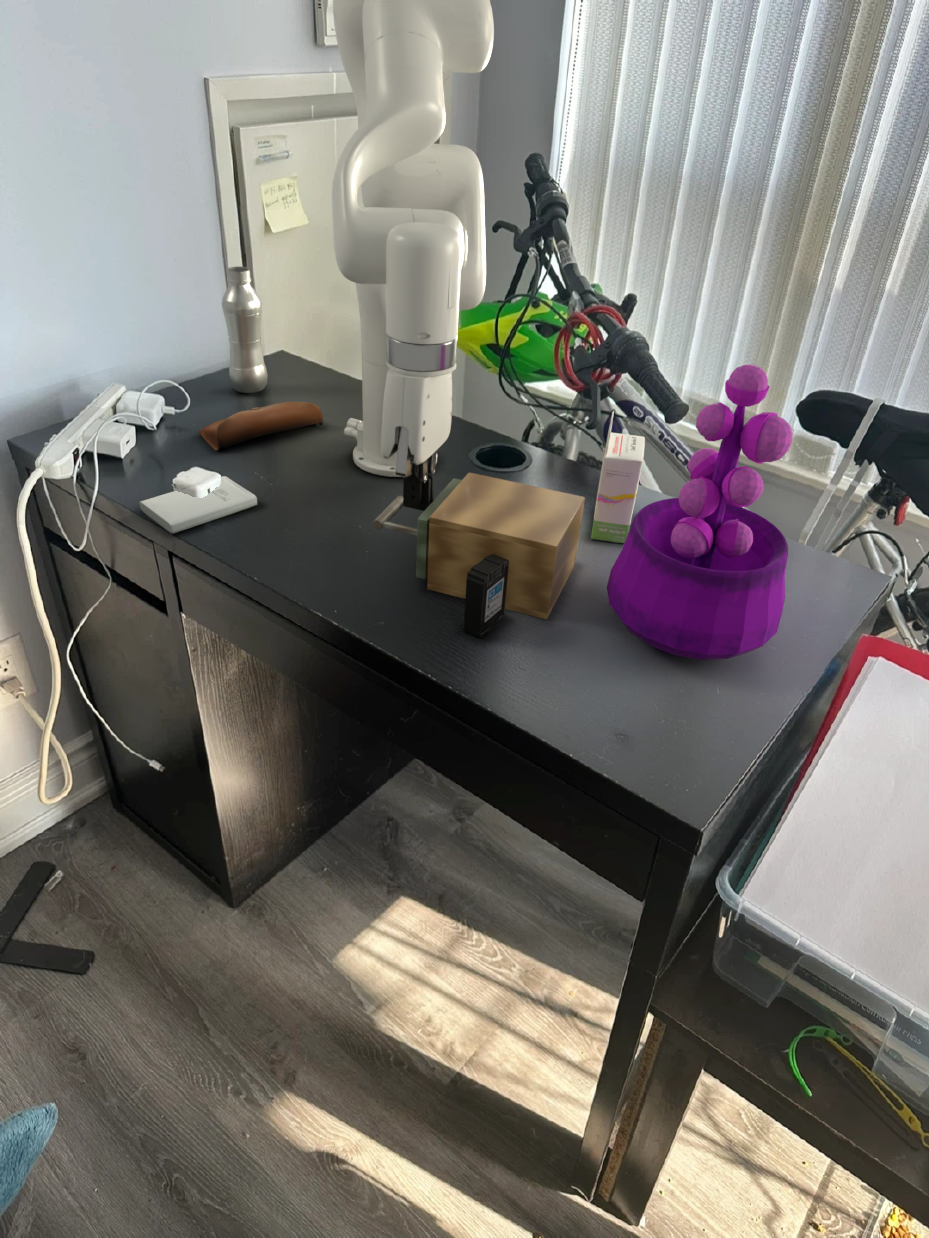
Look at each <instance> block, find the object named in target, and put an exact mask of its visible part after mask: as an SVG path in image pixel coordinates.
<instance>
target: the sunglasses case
mask: <svg viewBox="0 0 929 1238" xmlns="http://www.w3.org/2000/svg"><path fill="white" fill-rule="evenodd" d="M323 423H324V418H323V413H322V410H321V408H320V407H319V405H317V404H316V403H314V402H308V401H285V402H278V403H274V404H269V405H264V406H260V407H253V408H251V409H247V410H241V411H237V412H235V413H233V414H231V416H229V417H227V418H223V419H220V420H217V421H214V422H212V423H210V424H208V425H206V426H204V427H202V428H201V429H200V430H199V435H200V436H201V437H202V439H203V440H204V441H205V442H206V443H207V444H208V446H210V447H211V448H212V449H213V450H214V451H216V452H217V451H219V450H220V449H221V448H222V449H223V448H228V447H231V446H235V445H238V444H240V443H244V442H246V441H248V440H253V439H256V438H258V437H261V436H263V437H264V436H268V435H273V434H277V433H281V432H284V431H291V430H295V429H298V428H303V427H309V426H312V425H319V426H323Z"/></svg>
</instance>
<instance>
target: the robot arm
mask: <svg viewBox="0 0 929 1238" xmlns="http://www.w3.org/2000/svg"><path fill="white" fill-rule="evenodd" d="M332 15H333V26H334V30H335V39H336V43H337V47H338V48H337V49H338V53H339V55H340V59H341V62H342V66H343V69H344V72H345V75H346V77H347V80H348V82H349V86H350V88H351V91H352V94H353V98H354V102H355V105H356V115H357V129H356V130H355V132H354V133H353V134H352V136H351V137H350V138H349V140H348V141H347V142H346V145H344V148H343V150H342V151H341V153H340V156H339V158H338V160H337V163H336V165H335V170H334V172H333V173H334V174H333V178H332V183H331V184H332V185H331V211H332V213H331V214H332V232H333V233H332V235H333V236H332V237H333V249H334V255H335V261H336V265H337V267H338V270H339V272H340V273H341V275H342V276H343V277H344V278H345V279H347V280H348V281H349V282H352V283H355V284H354V285H355V291H356V296H357V302H358V311H359V322H360V323H359V324H360V340H361V343H360V344H361V345H360V347H361V392H362V393H361V394H362V399H361V400H362V420H360V419H356V418H353V417H350V418H348V420H347V421H346V427H345V428H344V430H343V435H344V436H345V437H348V438H351V439H355V440H356V445H355V447H354V448H353V451H352V460H353V462H354V464H355V465H356V466H357V467H358V468H360V469H361V470H363V471H365V472H367V473H369V474H371V475H376V476H381V477H389V478H402V479H403V480H402V481H403V482H402V483H403V484H402V487H403V488H402V490H403V491H402V496H403V505H404V506H403V507H404V508H408V509H412V510H417V511H421V512H424V511H425V510H426V509H427V508H428V506H429V505H430V504H431V503H432V502H433V501H434V493H435V492H434V489H435V488H434V487H435V475H434V474H435V472H436V467H437V463H438V450H439V448H440V447H441V446H443V444H444V443H445V442H446V441H447V440H448V438H449V436H450V433H451V427H452V418H453V417H452V416H453V374H452V373H453V372H454V371H455V370H456V369H457V359H458V358H457V355H458V337H459V336H458V334H459V314H460V311H469V310H472V309H475V308H477V307H478V306H479V305H480V304H481V302H482V301H483V298H484V296H485V291H486V283H487V253H486V252H487V251H486V216H485V215H486V214H485V213H486V212H485V186H484V175H483V169H482V164H481V163H480V159H479V158H478V156H477V154H476V153H475V152H474V150H472V149H471V148H469V147H468V146H465V145H460V144H453V143H452V144H451V143H436V142H437V141H438V140H439V139H440V137H441V135H442V134H443V132H444V130H445V126H446V121H447V113H446V102H445V92H444V78H443V76H444V75H443V72H444V73H458V74H477V73H481V72H482V71H483V70H484V69H486V67H487V66H488V63H489V61H490V59H491V56H492V52H493V47H494V38H495V23H494V13H493V8H492V5H491V0H332ZM359 189H361V190H360V191H361V196H362V198H361V199H362V204H363V206H359V204H358V193H359Z"/></svg>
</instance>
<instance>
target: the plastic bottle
mask: <svg viewBox="0 0 929 1238" xmlns="http://www.w3.org/2000/svg"><path fill="white" fill-rule="evenodd" d="M250 269H251V268H249V267H246V266H238V265H237V266H230V267H227V268H226V276H227V278H226V281H227V282H228V286H227V288H226V290H225V291H224V293H223V295H222V300H221V309H222V313H223V316H224V321H225V325H226V330H227V335H228V336H227V337H228V342H229V344H228V345H229V367H228V378H229V382H230V386H231V387H232V388H233V389H234V391H236V392H239V393H244V394H253V393H258V392H261V391H263V390H264V389H265V388H266V387H267V385H268V378H269V377H268V376H269V375H268V370H267V366H266V363H265V358H264V352H263V347H262V337H261V336H262V330H261V329H262V305H263V304H262V300H261V298H260V296H259V294H258V292H257V291H256V290H255V289H254V287H253V286H252V285H251V282H252V277H251V270H250Z"/></svg>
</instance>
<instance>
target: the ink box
mask: <svg viewBox="0 0 929 1238" xmlns="http://www.w3.org/2000/svg"><path fill="white" fill-rule="evenodd" d="M614 413H615V411H614V410H613V411H612V412H611V417H610V421H609V427H608V432H607V437H606V443H605V447H604V453H603V458H602V464H601V468H600V469H601V470H600V475H599V481H598V486H597V494H596V501H595V507H594V514H593V522H592V528H591V535H590V539H591V540H596V541H603V542H609V543H610V542H611V543H616V544H617V543H619V544H624V543H625V540H626V538H627V535H628V532H629V530H630V527H631V524H632V520H633V513H634V508H635V503H636V498H637V494H638V489H639V483H640V479H641V473H642V469H643V463H644V456H645V445H646V438H645V436H641V435H635V434H627V433H618V432H612V427H613V419H614Z"/></svg>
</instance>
